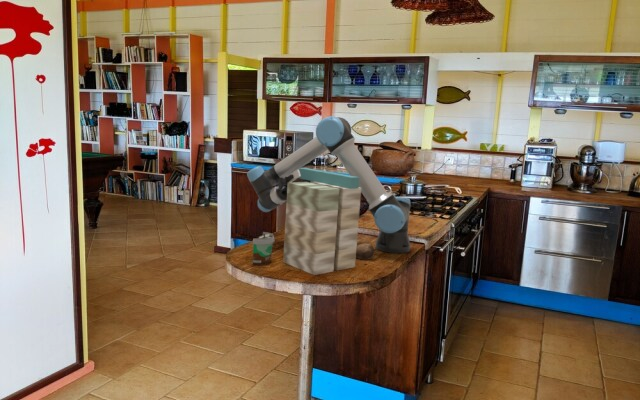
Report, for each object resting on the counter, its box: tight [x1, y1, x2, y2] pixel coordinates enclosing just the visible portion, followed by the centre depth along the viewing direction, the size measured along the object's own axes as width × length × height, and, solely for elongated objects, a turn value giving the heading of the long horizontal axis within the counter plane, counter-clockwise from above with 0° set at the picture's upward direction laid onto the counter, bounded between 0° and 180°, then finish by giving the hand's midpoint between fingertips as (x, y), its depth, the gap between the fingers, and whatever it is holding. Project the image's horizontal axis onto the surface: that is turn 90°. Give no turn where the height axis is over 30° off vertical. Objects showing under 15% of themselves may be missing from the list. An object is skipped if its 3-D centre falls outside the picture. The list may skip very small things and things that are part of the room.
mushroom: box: [356, 242, 375, 261], centre depth 202 cm, size 8×8×6 cm
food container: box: [252, 231, 276, 266], centre depth 186 cm, size 12×6×10 cm, turn 168°
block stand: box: [282, 181, 362, 276], centre depth 186 cm, size 18×20×30 cm
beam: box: [298, 167, 359, 189], centre depth 191 cm, size 30×4×4 cm, turn 41°
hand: (312, 172), depth 196 cm, fingers open, 13 cm apart
